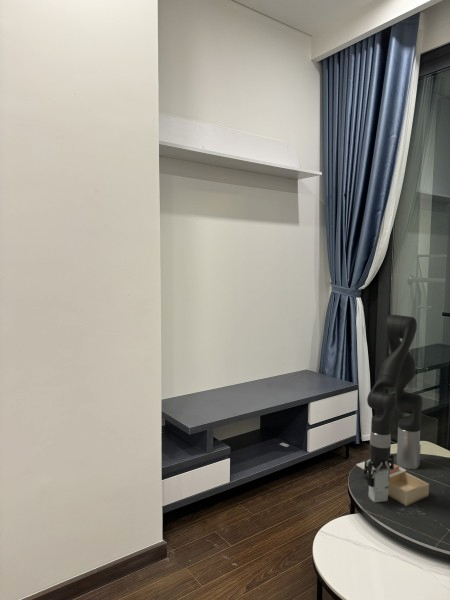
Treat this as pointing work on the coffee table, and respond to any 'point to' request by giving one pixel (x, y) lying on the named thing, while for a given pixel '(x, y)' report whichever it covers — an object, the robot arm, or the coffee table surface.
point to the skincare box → (379, 486)
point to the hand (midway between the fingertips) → (378, 483)
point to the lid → (394, 472)
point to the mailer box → (407, 488)
